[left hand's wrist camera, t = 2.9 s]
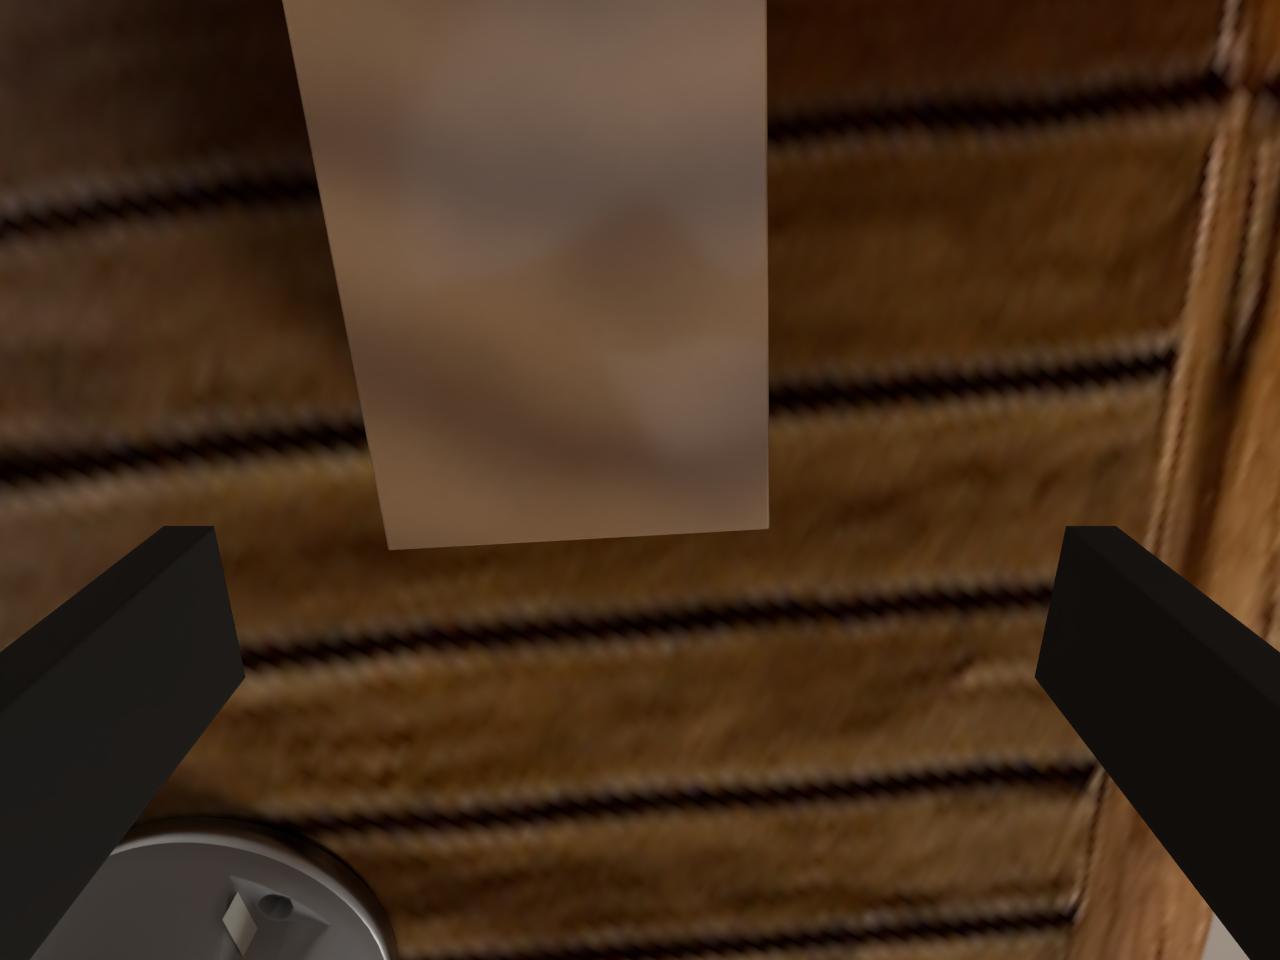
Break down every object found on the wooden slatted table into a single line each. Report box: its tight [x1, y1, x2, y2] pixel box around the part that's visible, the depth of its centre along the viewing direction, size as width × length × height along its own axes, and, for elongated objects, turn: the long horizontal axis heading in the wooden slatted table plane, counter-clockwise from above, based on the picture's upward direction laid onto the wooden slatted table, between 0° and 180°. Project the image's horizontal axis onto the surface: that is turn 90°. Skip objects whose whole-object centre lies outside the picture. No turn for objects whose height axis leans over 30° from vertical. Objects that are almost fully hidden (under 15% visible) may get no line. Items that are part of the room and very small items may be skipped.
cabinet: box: [282, 0, 769, 550], centre depth 22 cm, size 19×10×8 cm, turn 4°
